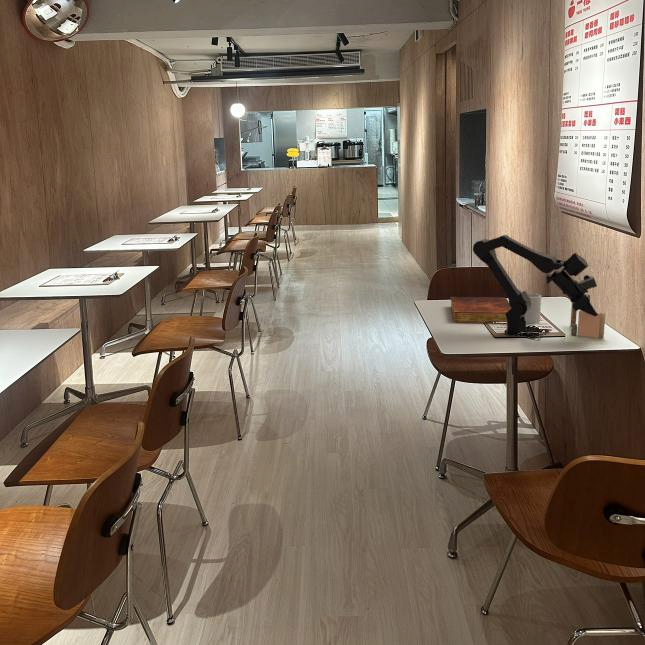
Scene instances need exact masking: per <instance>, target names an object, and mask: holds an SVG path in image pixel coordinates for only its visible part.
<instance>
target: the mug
mask: <svg viewBox="0 0 645 645" xmlns="http://www.w3.org/2000/svg"><path fill="white" fill-rule="evenodd" d="M526 293H527V295H528V297H529V298H531V300H530V301H531V308H530V310H529V311H527V312H526V314H525V315H524V317H525V321H526V323H530V324H529V325H535V323H537V324H540V323H541V310H542V309H541V305H542V295H541V294H539V293H532V292H530V293H529V292H526ZM539 322H540V323H539Z"/></svg>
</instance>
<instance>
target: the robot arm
mask: <svg viewBox="0 0 645 645" xmlns="http://www.w3.org/2000/svg"><path fill="white" fill-rule="evenodd" d="M499 248H504V249H506V250H508V251H509V252H512V253H513V254H515V255H517V256H519V257H521V258H523V259H524V260H527V261H529V262H530V263H531V264H532V265H533V266H534V267H535V268H536V269H538V270H539V271H540V272H541V273H543V274H547V275H546V285H549V284H550V283H551V282H553V283H554V284H555V285H556V287H557V288H558V289H560V291H561V292H562V294H563V296H564V295H565V296H566V297H567V298H568V299H569V301H570V302H571V304H572V303H573V309H574V310H575V311H577V312H579V311H584V312H586V313H588V314H591V315H593V316H597V313H598V312H597V311H596V309H595V308H594V306H593V305H592V303H591V295H590V294H586V293H589V289H592V288H596V287H597V286H598V285H597V284H598V283H597V282H596V279H595V277H594V276H590V275H589V274H586V275H583V279H582V280H580V281H578V280H577V279H576V280H575V279H573V276H574V277H577V276H578V275H579V274H581V273H582V272H583V271H585V270H586V269H587V268H588V267H589V263H588V261H587V260H586V259H585V258H584V257H582V256H580V254H578V253H577V252H574V253H573V254H572V255H571V256H570V257H569V258H567V259H566V260H563V259H558V258H557V257H556V256H554V255H551V254H548V253H545V252H540V251H537V250H535V249H533V248H531V247H529V246H527V245H526V244H524V243H521V242H519V241H517V240H515V239H513V238H512V237H510V236H509V235H506V234H503V235H500V236H499V237H495V238H492V239H487V238H483V239H481V240H478V241H475V243H474V244H473V246H472V251H473V254H474V255H475V256H476V257H477V258H478V259H479V260H480V261H481V262H483V263H484V264H485V265H486V266H487V267H488V268H489V270H490V272H491V273H492V275H493V276H494V278H495V279H496V281H497V283H499V285H500V287H501V288H502V290H503V291H504V293H505V294H506V296H507V300H508V302H509V304H510V306H511V309H510V310H509V311H508V312H506V317H507V324H506V327H505V328H506V329H505V332H507V333H506V335H508V334H518V333H520V332H521V331H523V330H525V329H526V330H527V324H526V321H525V317H524V315H525V314H526V312H527V311H529V310H530V308H531V301H530V300H531V298H529V297H528V295H527V293H528V292H527V291H526V290H523V291H521V290H519V289H518V287H517V286H516V285H515V283H514V282H513V279H511V277H510V276H509V274H508V272H507V270H505V268H504V266H503V265H502V264H501V261H499V259H498V257H497V252H496V249H499ZM562 267H563V268H562ZM559 269H560V270H559ZM549 273H552V274H549Z"/></svg>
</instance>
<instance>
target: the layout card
mask: <svg viewBox="0 0 645 645" xmlns="http://www.w3.org/2000/svg"><path fill="white" fill-rule="evenodd" d="M564 332H565V333H564V335H565V343H574V344H575V343H577V344H578V343H579V344H592V345H593V344H594V345H606V341H605V337H604V338H597V337H589V336H582V335H576V336H572V335H571V327H570V325H565V326H564ZM577 332H578V326H577Z"/></svg>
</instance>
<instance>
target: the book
mask: <svg viewBox="0 0 645 645" xmlns="http://www.w3.org/2000/svg"><path fill="white" fill-rule="evenodd" d="M450 308H451V312H452V313H451V314H452V316H453V320H454V323H455V324H497V323H496V322H507V317H506V312H508V311H509V310H510V309H511V306H510V304H509V300H508V297H494V296H493V297H487V296H486V297H484V296H483V297H480V296H478V297H477V296H476V297H475V296H474V297H473V296H468V297H467V296H450ZM493 322H494V323H493Z"/></svg>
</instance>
